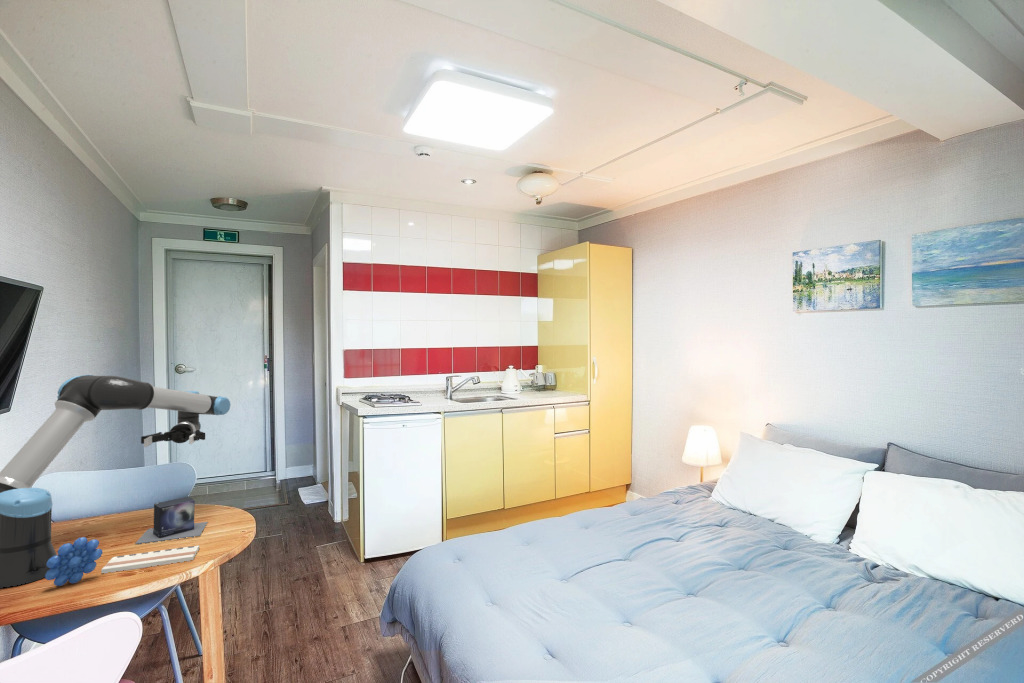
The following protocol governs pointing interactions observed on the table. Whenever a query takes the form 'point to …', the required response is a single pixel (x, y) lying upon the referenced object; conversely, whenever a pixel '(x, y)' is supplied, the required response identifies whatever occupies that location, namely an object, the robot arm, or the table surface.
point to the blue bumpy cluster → (73, 561)
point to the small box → (173, 516)
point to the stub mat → (150, 537)
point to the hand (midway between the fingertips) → (168, 441)
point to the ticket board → (150, 559)
